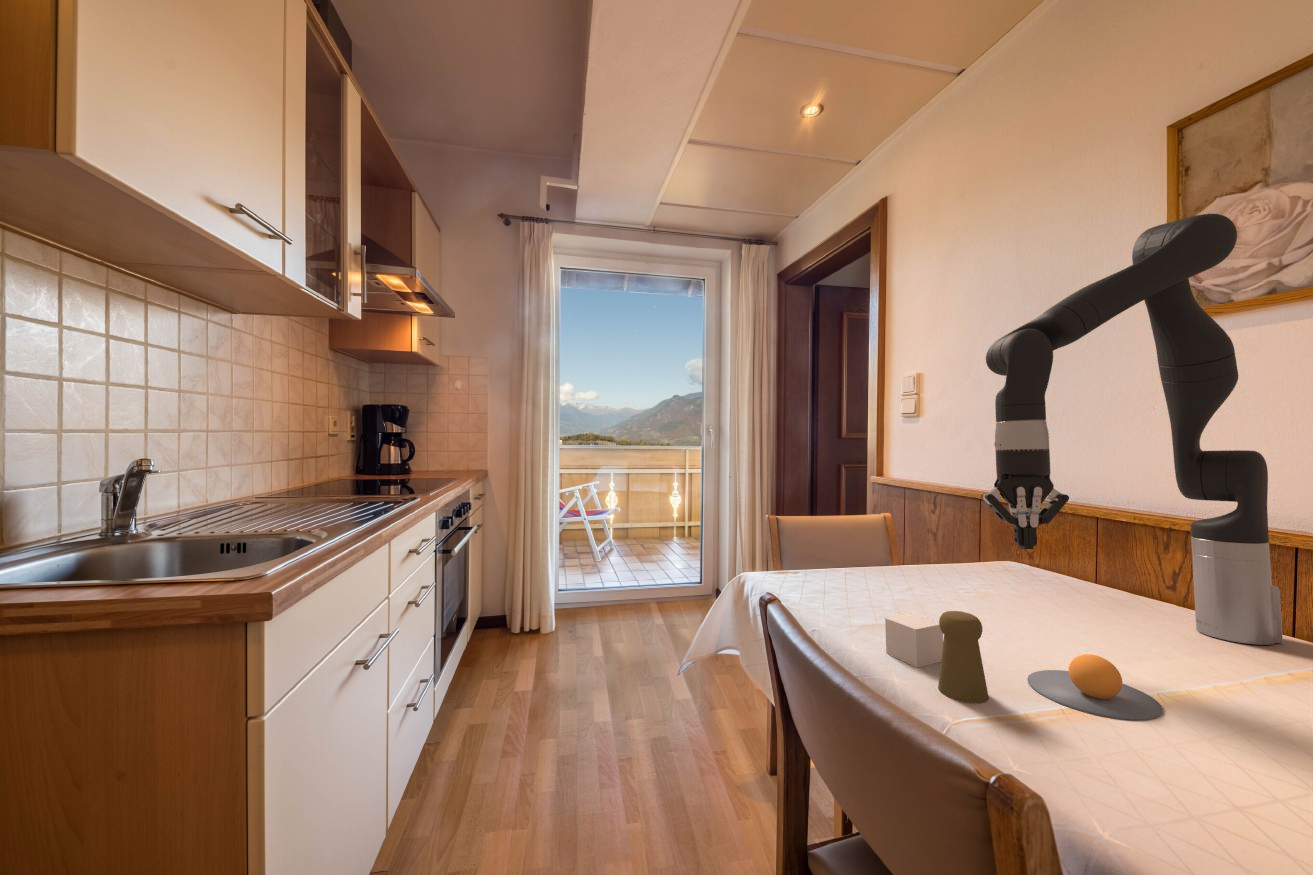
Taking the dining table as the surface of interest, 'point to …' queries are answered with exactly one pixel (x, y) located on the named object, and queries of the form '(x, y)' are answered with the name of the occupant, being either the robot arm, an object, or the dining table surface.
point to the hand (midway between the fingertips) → (1026, 548)
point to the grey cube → (914, 639)
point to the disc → (1119, 707)
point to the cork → (962, 658)
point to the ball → (1095, 676)
